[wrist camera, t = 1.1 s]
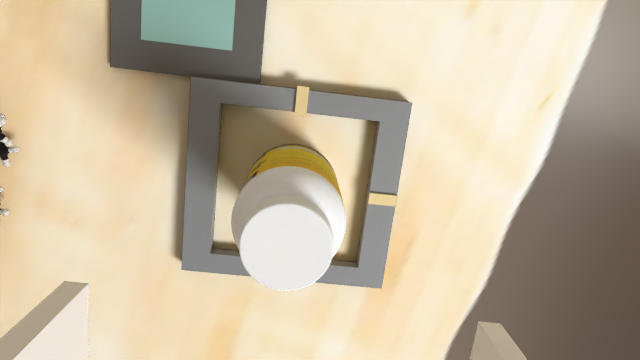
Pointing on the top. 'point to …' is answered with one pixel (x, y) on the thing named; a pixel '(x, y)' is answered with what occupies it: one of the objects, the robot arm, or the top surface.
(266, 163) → the pill bottle
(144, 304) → the top surface
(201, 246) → the socket plate
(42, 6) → the top surface
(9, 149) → the molecular model
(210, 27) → the mat
